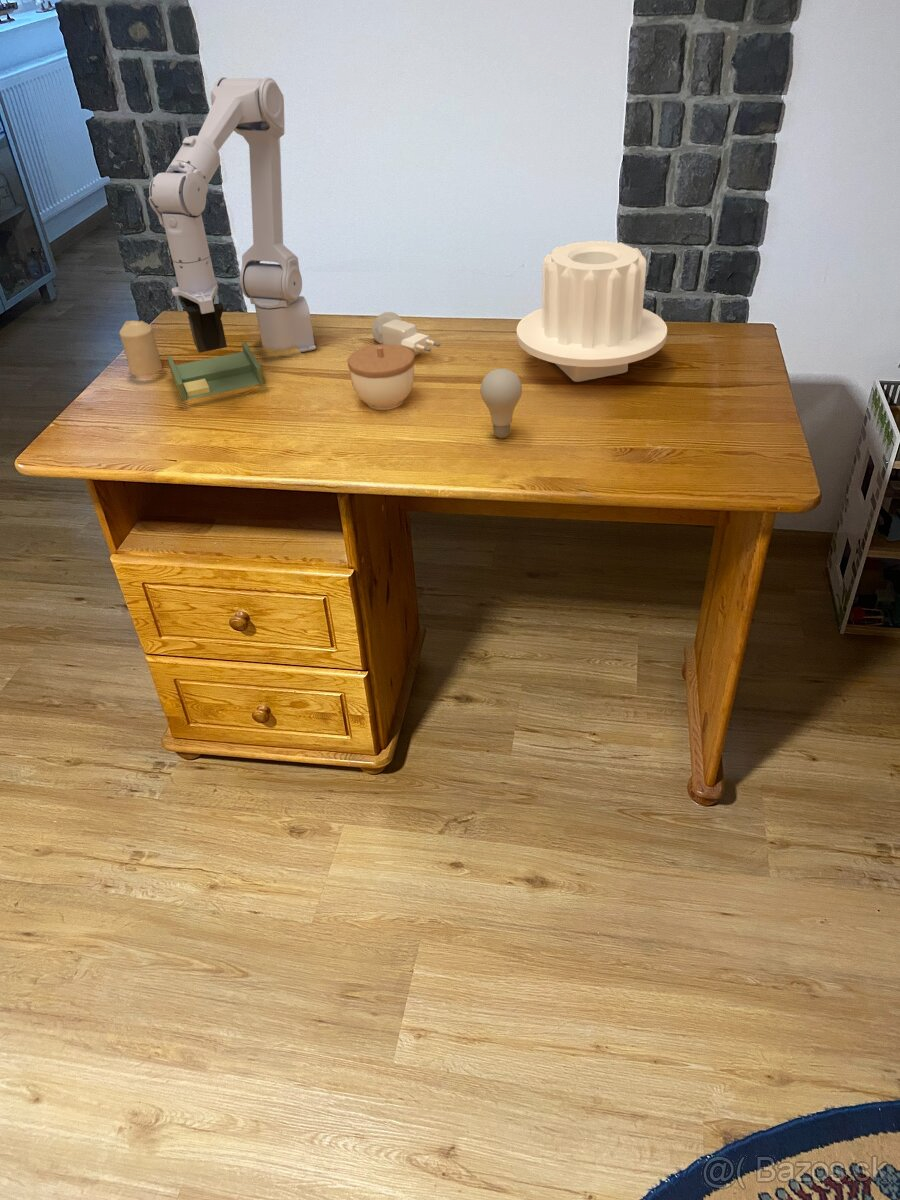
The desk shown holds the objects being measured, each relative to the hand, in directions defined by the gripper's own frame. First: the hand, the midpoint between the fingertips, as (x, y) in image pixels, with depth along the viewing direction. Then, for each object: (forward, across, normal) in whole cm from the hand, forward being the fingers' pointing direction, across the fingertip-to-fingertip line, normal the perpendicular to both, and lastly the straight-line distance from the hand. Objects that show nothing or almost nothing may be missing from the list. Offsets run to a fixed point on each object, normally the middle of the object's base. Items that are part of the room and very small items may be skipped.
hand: (210, 342), depth 148 cm
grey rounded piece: (+10, -10, +33) cm, 36 cm away
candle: (+10, -16, -10) cm, 22 cm away
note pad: (+9, -3, -4) cm, 10 cm away
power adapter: (+10, 0, +34) cm, 36 cm away
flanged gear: (+10, +18, +60) cm, 64 cm away
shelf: (+10, -6, 0) cm, 12 cm away
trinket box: (+10, +14, +24) cm, 30 cm away
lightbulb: (+10, +34, +36) cm, 51 cm away
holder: (0, 0, 0) cm, 0 cm away
